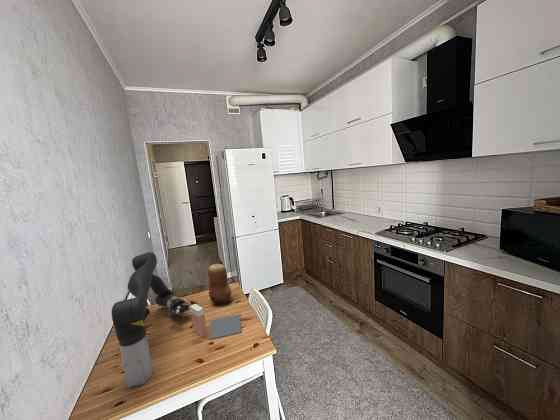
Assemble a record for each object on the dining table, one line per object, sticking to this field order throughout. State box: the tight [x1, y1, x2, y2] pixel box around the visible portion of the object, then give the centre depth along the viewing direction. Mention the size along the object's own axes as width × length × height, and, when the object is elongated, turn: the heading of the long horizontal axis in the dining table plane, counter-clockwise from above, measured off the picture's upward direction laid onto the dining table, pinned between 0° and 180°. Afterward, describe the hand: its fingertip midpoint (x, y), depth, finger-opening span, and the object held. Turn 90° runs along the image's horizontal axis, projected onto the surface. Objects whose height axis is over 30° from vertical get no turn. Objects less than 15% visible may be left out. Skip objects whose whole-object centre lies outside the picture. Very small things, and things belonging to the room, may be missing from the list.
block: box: [189, 303, 208, 338], centre depth 116 cm, size 3×8×14 cm, turn 49°
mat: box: [208, 313, 243, 341], centre depth 120 cm, size 16×16×1 cm
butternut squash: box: [207, 263, 232, 305], centre depth 144 cm, size 14×13×25 cm
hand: (189, 313), depth 122 cm, fingers open, 8 cm apart
